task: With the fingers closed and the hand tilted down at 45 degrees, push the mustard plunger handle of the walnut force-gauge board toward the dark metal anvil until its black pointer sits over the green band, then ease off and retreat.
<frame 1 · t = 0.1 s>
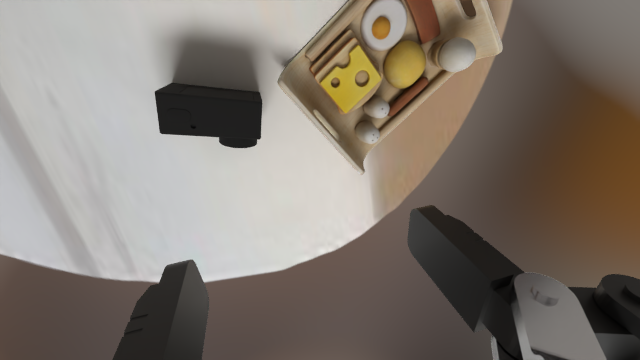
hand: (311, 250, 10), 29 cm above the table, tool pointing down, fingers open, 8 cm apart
digital camera: (218, 109, 34), on the table
toy food set: (379, 64, 37), on the table
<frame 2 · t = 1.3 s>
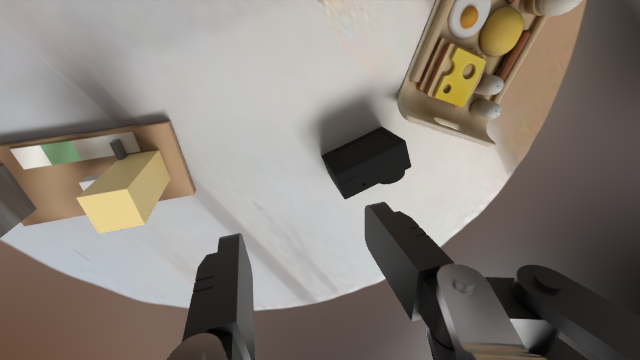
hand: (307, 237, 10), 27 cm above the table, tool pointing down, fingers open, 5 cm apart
digital camera: (355, 155, 41), on the table
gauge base: (99, 171, 33), on the table
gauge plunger: (109, 180, 27), point 6 cm above the table, slide at 0.0 cm
toy food set: (473, 44, 38), on the table
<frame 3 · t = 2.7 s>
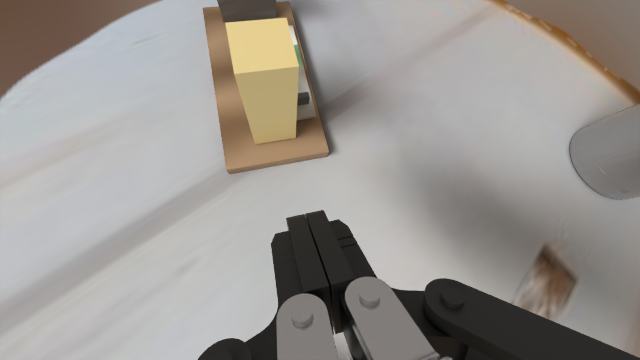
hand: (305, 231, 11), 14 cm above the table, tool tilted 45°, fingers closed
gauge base: (262, 82, 29), on the table
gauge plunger: (276, 72, 22), point 6 cm above the table, slide at 0.0 cm
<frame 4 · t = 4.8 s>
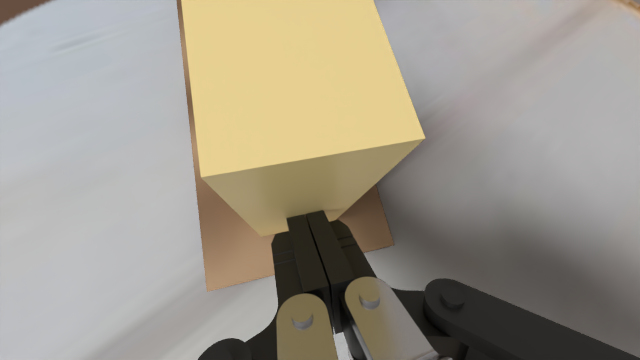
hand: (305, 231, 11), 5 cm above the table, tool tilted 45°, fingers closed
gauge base: (273, 113, 17), on the table
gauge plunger: (310, 114, 10), point 6 cm above the table, slide at 0.0 cm, touching gripper
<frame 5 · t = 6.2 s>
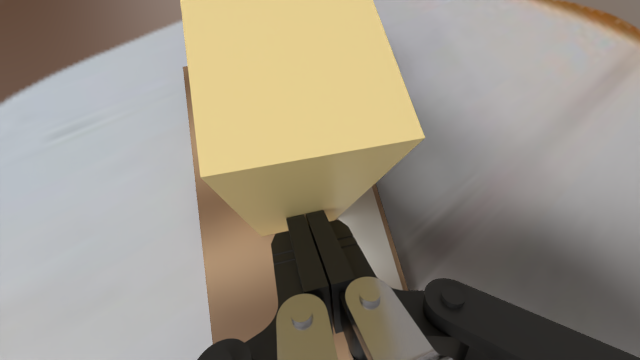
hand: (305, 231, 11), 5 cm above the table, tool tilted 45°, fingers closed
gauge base: (293, 207, 16), on the table
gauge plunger: (309, 113, 10), point 6 cm above the table, slide at 6.6 cm, touching gripper
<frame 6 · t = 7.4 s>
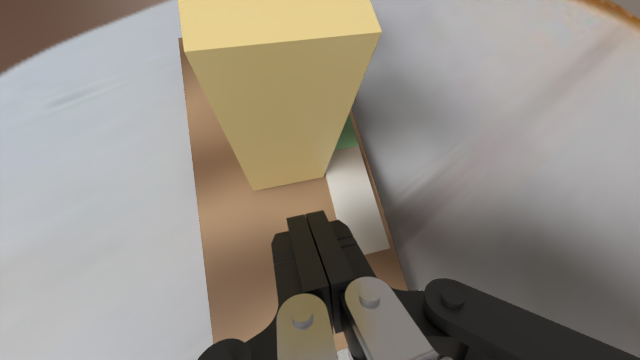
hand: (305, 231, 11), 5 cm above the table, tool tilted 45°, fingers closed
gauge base: (284, 171, 16), on the table
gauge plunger: (295, 62, 11), point 6 cm above the table, slide at 6.7 cm
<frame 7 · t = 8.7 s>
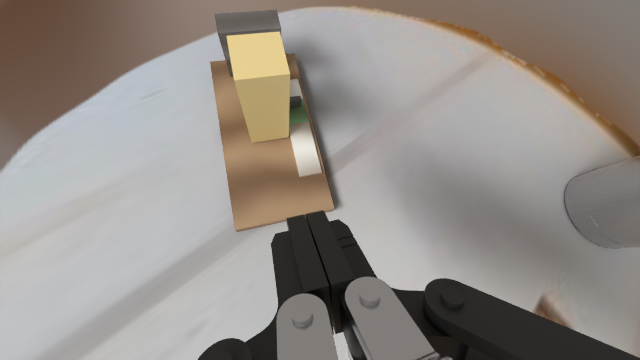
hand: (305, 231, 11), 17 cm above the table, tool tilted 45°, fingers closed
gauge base: (269, 135, 30), on the table
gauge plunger: (271, 78, 25), point 6 cm above the table, slide at 6.7 cm
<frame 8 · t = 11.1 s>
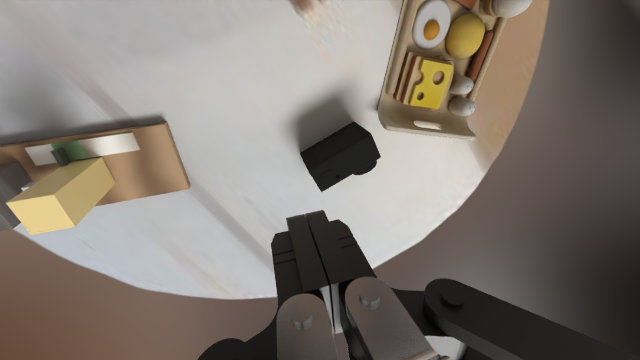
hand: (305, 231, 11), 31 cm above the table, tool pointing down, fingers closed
digital camera: (332, 150, 44), on the table
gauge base: (103, 168, 36), on the table
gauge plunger: (47, 186, 30), point 6 cm above the table, slide at 6.7 cm
toy food set: (441, 50, 41), on the table
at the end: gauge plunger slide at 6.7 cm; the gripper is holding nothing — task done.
